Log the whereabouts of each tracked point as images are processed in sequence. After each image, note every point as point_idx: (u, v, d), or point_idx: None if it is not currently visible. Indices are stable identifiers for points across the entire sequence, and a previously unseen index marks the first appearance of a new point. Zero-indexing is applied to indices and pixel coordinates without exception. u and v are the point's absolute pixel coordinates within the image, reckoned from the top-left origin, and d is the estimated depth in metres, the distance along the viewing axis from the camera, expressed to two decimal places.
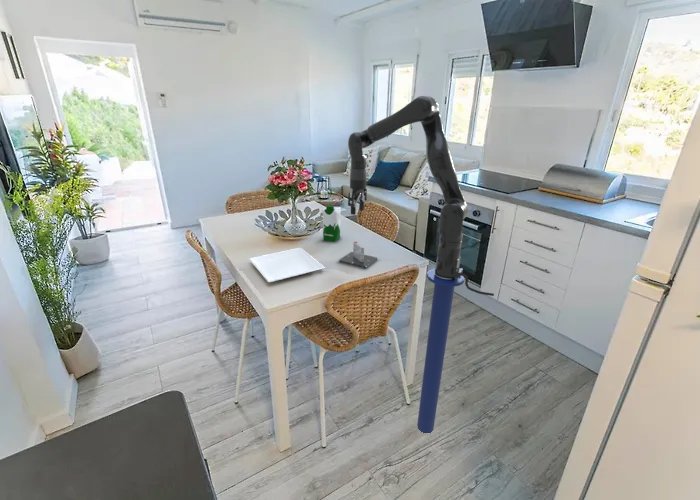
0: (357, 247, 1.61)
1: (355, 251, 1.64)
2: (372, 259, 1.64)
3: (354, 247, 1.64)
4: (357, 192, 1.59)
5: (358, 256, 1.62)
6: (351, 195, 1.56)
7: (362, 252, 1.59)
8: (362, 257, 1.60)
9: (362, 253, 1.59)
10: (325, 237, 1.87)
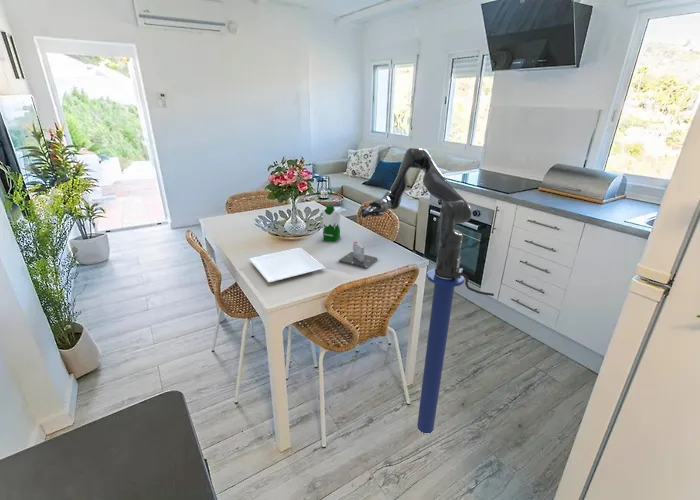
0: (357, 247, 1.61)
1: (355, 251, 1.64)
2: (372, 259, 1.64)
3: (354, 247, 1.64)
4: (369, 207, 1.76)
5: (358, 256, 1.62)
6: (360, 208, 1.76)
7: (362, 252, 1.59)
8: (362, 257, 1.60)
9: (362, 253, 1.59)
10: (325, 237, 1.87)
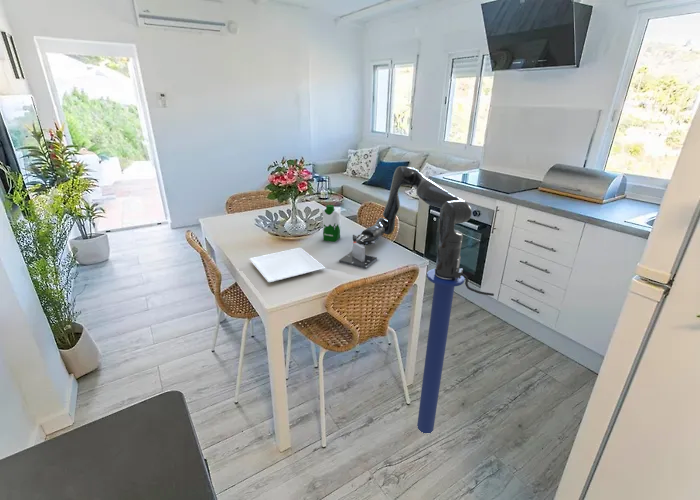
0: (357, 247, 1.61)
1: (355, 251, 1.64)
2: (372, 259, 1.64)
3: (353, 247, 1.64)
4: None
5: (359, 256, 1.62)
6: None
7: (363, 252, 1.59)
8: (363, 257, 1.60)
9: (363, 253, 1.60)
10: (325, 237, 1.87)
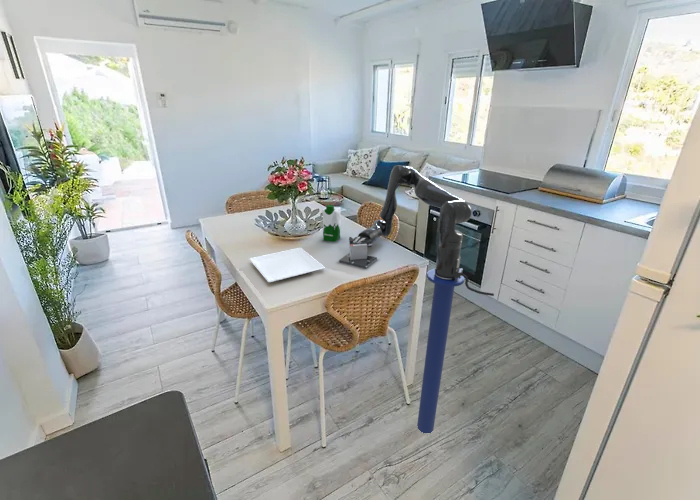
0: (359, 247, 1.61)
1: (355, 253, 1.62)
2: (372, 259, 1.64)
3: (353, 250, 1.61)
4: (358, 237, 1.72)
5: (362, 254, 1.63)
6: (349, 239, 1.71)
7: None
8: None
9: None
10: (325, 237, 1.87)
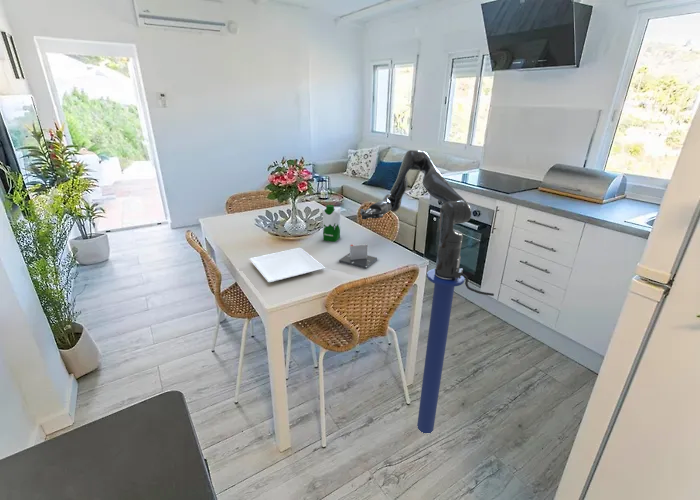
0: (359, 247, 1.61)
1: (356, 253, 1.62)
2: (372, 259, 1.64)
3: (353, 250, 1.61)
4: None
5: (362, 254, 1.63)
6: None
7: None
8: None
9: None
10: (325, 237, 1.87)
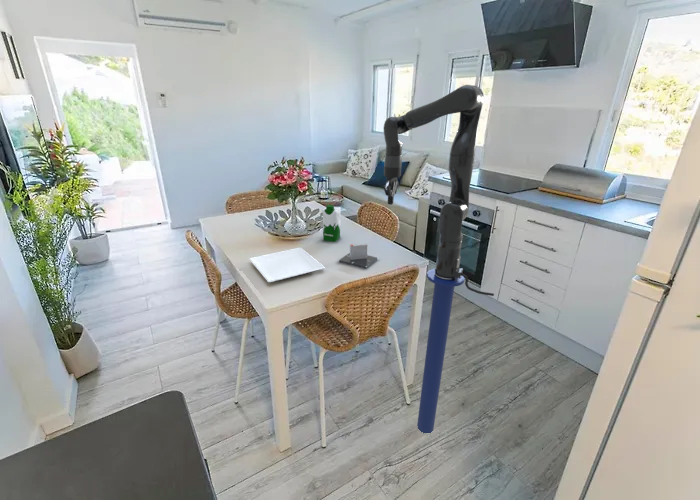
0: (359, 247, 1.61)
1: (356, 253, 1.62)
2: (372, 259, 1.64)
3: (353, 250, 1.61)
4: (392, 180, 1.52)
5: (362, 254, 1.63)
6: (387, 188, 1.51)
7: None
8: None
9: None
10: (325, 237, 1.87)
